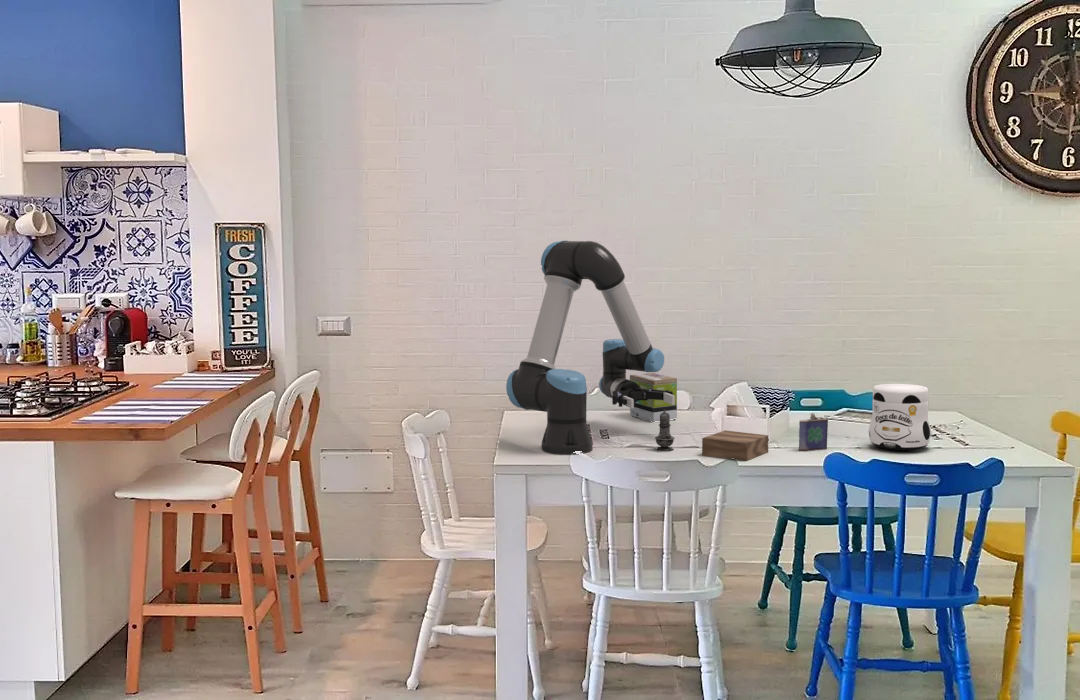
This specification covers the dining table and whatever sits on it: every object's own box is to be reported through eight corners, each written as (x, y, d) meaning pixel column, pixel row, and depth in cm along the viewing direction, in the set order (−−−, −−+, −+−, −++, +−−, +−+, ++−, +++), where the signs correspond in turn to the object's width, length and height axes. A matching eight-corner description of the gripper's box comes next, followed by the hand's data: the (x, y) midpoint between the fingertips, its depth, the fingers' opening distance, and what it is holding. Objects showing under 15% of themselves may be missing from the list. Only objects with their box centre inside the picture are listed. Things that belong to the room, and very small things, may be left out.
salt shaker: (661, 446, 331) (661, 407, 330) (678, 449, 328) (678, 409, 326) (650, 450, 327) (650, 409, 325) (667, 452, 323) (667, 411, 322)
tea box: (628, 416, 383) (628, 374, 381) (653, 413, 387) (653, 372, 386) (653, 423, 370) (653, 379, 368) (678, 420, 374) (678, 377, 372)
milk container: (879, 454, 317) (880, 392, 315) (860, 442, 334) (862, 383, 332) (939, 453, 317) (941, 391, 315) (917, 441, 334) (919, 382, 332)
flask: (801, 451, 322) (802, 415, 321) (796, 449, 325) (796, 413, 324) (829, 449, 325) (829, 413, 324) (823, 447, 328) (824, 411, 327)
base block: (746, 461, 310) (746, 443, 310) (702, 455, 319) (702, 438, 318) (768, 452, 321) (768, 435, 321) (724, 446, 330) (724, 430, 329)
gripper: (661, 399, 360) (690, 410, 340) (589, 405, 352) (615, 417, 332) (661, 377, 359) (690, 386, 339) (589, 382, 351) (614, 392, 331)
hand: (653, 401), depth 336 cm, fingers open, 13 cm apart
